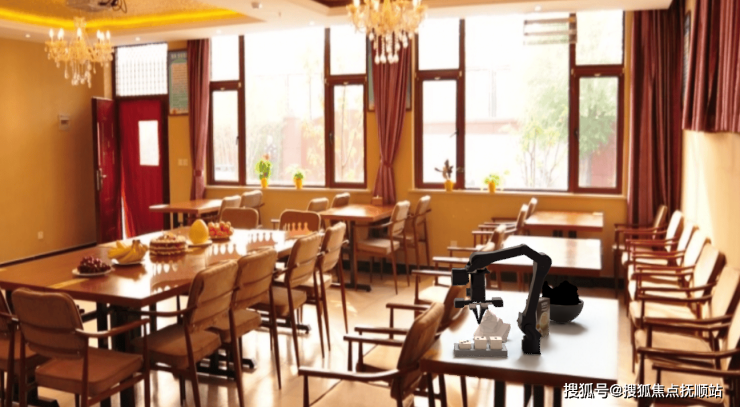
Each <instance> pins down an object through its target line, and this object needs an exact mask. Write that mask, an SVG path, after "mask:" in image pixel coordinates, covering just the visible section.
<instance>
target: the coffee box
mask: <svg viewBox="0 0 740 407" xmlns="http://www.w3.org/2000/svg"><path fill="white" fill-rule="evenodd" d="M526 302H527V299H525V303H526ZM550 321H551V320H550V298H545V297H542V296H540V298H539V302H538V306H537V310H536V329H537V330H538V331H539V332H540V333H541V334H542V336H541V339H542V338H543V339H544V338H545V337H549V336H550Z"/></svg>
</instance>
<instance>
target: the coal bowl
mask: <svg viewBox="0 0 740 407" xmlns="http://www.w3.org/2000/svg"><path fill="white" fill-rule="evenodd" d="M548 282H549V281H547V280H544V281H543V285H542V289H541V297H545V298H550V320H549V321H551V322H554V323H559V324H565V323H566V324H567V323H570V322H571V321H574V320H575V319H577V318H578V317H579V315H581V313H582V312H583V309H584V306H585V301H584V300H583V299H581V298H580V295H579V293H578V290H579V288H578V287H577V286H576V285H574V284H573V283H570V282H569V281H568V280H566V279H565V280H563V281H562V282H560V283H559V285H558V286H554V287H553V288H552V287H551V286H550V285H549V283H548Z"/></svg>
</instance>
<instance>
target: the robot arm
mask: <svg viewBox="0 0 740 407" xmlns="http://www.w3.org/2000/svg"><path fill="white" fill-rule="evenodd" d="M521 256H525V257H527V258H529V260H531V261H532V278H531V282H530V286H529V291H528V295H527V302H526V301H525V306H524V309H523V310H522V312H521V311H518V317H517V319H516V323H517V327H518V328H519V330H520V331H521V332H522V334H523V335H522V339H521V340H520V341H521V351H522V353H523V355H542V352H541V339H542V338H541V336H542V334H541V333H540V332H539V331H538V330H537V329H536V310H537V306H538V302H539V298H540V297H541V295H542V285H543V284H544V281H545V278H546V276H547V275H548V274H549V271H550V269H551V267H552V265H553V260H552V258H551V257H550V255H548V254H547V253H545V252H538V251H536V249H533V248H532V247H530V246H529V245H528V244H526V243H520V244H517V245H513V246H510V247H505V248H500V249H497V250H493V251H492V250H491V251H473V252H471V254H470V255H469V258H468V261H467V262H466V264H465V266H464V267H463V268H461V267H460V268H456V267H454V268H453V267H452V268H451V273H450V274H451V275H450V284H451V287H457V286H459V287H460V286H467V284H469V285H470V287H465V296H466V297H470V299H468V300H467V299H466V300H465V298H464V297H455V298H454V299H453V307H454V308H455V309H464V308H465V307H466V306H468V308H469V310H470V311H472V312H473V314H474V317H475V320H476V323H477V324H478V325H479V324H480V323H481V320H482V317H483V316H484V315H485V313H486V311H487V310H488V309H490V308H489V305H491V306H492V305H493V307H494V308H504V300H503V298H502V297H501V296H492V297H491V299H487V298H486V297H487V296H486V293H487V292H486V275H487V274H491V271H490V270H489V269H488V268H487V267H488V266H490V265H492V264H493V263H496V262H500V261H503V260H504V261H505V260H509V259H513V258H517V257H521ZM477 306H479V313H478V307H477Z"/></svg>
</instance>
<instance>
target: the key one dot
mask: <svg viewBox="0 0 740 407" xmlns="http://www.w3.org/2000/svg"><path fill="white" fill-rule="evenodd" d="M502 344H503V341H502V338H501V337H490V349H502Z"/></svg>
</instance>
